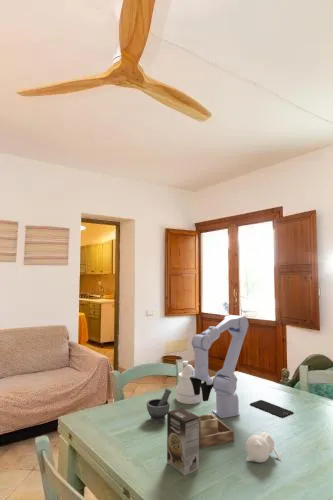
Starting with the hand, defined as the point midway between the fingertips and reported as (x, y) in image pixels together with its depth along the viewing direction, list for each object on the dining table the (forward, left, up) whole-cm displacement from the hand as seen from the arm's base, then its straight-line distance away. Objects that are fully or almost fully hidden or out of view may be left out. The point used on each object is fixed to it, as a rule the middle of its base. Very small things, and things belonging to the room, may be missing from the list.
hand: (201, 397), depth 134 cm
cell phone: (-37, -2, -11) cm, 39 cm away
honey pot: (-7, -27, -11) cm, 30 cm away
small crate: (+3, +10, -10) cm, 14 cm away
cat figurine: (-7, +31, -11) cm, 33 cm away
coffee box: (+20, +25, -11) cm, 34 cm away
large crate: (+3, +10, -10) cm, 15 cm away
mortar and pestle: (+15, -10, -11) cm, 21 cm away
